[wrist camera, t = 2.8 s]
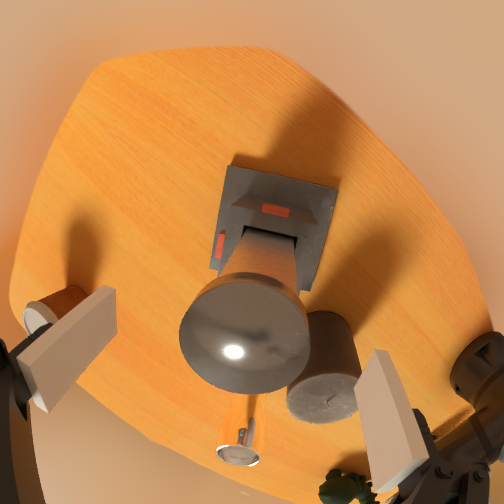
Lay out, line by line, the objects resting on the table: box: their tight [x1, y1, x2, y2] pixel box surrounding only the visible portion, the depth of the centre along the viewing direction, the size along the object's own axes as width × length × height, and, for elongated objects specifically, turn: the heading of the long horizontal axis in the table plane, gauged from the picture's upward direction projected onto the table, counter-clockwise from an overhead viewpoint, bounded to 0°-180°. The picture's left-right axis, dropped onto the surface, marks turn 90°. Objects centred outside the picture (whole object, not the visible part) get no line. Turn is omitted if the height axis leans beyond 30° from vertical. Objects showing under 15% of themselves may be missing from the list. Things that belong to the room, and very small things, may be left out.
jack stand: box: [210, 165, 338, 296], centre depth 32 cm, size 14×14×12 cm
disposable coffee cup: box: [23, 286, 87, 335], centre depth 40 cm, size 10×10×12 cm
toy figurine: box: [318, 470, 380, 504], centre depth 47 cm, size 9×19×25 cm
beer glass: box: [216, 393, 267, 466], centre depth 40 cm, size 7×7×15 cm
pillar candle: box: [286, 311, 362, 424], centre depth 35 cm, size 10×10×15 cm
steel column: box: [179, 226, 310, 395], centre depth 25 cm, size 6×6×24 cm
